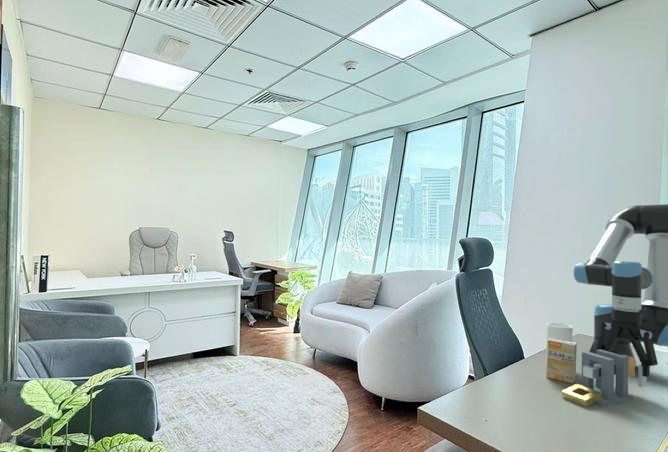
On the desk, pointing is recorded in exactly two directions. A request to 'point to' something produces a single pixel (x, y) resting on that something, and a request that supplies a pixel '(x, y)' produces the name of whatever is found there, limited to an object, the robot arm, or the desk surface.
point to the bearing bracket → (608, 377)
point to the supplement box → (561, 360)
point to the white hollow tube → (558, 333)
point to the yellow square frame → (575, 390)
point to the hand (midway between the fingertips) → (625, 380)
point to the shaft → (595, 369)
